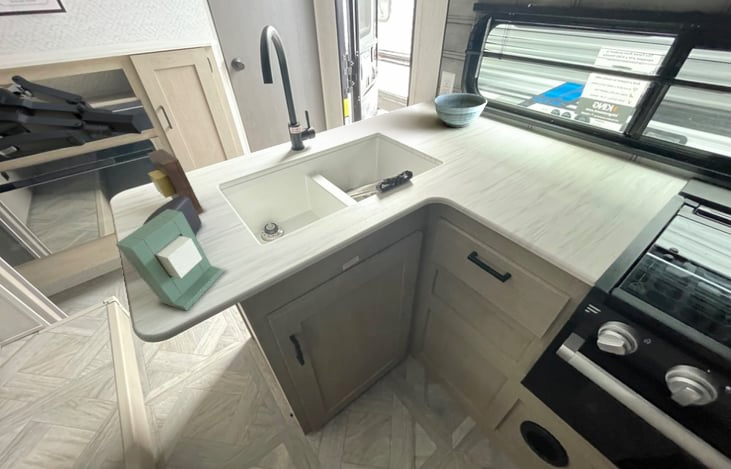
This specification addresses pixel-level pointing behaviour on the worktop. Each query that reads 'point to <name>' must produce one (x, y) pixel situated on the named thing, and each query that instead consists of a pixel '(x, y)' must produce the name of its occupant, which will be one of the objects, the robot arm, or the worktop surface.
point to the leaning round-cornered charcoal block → (183, 206)
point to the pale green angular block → (142, 258)
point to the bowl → (459, 108)
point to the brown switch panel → (174, 176)
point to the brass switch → (162, 183)
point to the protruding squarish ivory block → (178, 256)
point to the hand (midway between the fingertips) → (137, 124)
